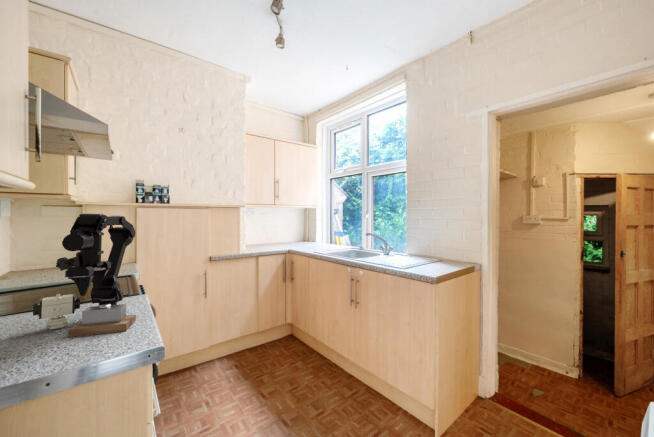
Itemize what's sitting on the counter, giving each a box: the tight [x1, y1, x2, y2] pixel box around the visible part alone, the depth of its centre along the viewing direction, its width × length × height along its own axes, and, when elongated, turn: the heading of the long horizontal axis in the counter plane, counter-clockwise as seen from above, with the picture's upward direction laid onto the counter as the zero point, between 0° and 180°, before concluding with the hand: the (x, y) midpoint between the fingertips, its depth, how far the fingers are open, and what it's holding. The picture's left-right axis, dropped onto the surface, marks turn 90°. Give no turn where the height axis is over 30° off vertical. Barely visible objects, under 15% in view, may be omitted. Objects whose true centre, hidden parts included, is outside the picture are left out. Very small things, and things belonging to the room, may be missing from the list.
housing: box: [81, 303, 127, 326], centre depth 95 cm, size 11×5×6 cm, turn 110°
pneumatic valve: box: [32, 293, 81, 330], centre depth 95 cm, size 6×12×12 cm, turn 135°
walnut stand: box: [67, 314, 137, 338], centre depth 95 cm, size 10×16×2 cm, turn 110°
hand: (89, 292), depth 94 cm, fingers open, 9 cm apart
